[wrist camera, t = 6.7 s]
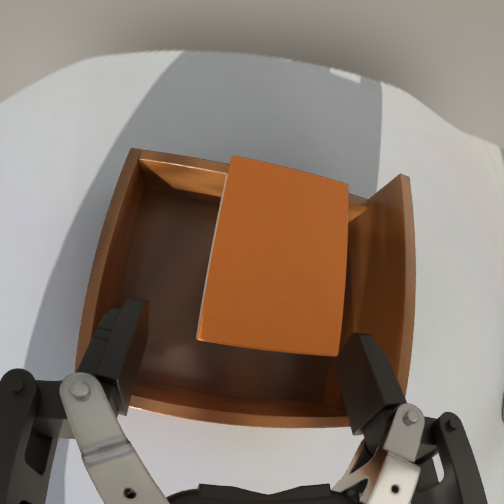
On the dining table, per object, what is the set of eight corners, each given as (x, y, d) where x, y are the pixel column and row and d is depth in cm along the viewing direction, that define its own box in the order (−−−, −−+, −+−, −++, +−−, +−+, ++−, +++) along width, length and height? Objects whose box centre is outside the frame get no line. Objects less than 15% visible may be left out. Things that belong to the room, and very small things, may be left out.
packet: (265, 265, 22) (350, 182, 9) (254, 342, 20) (340, 358, 8) (210, 254, 21) (231, 152, 9) (197, 333, 20) (195, 341, 7)
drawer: (346, 224, 24) (409, 177, 16) (328, 409, 20) (395, 443, 11) (141, 182, 22) (119, 108, 13) (99, 377, 18) (41, 404, 9)
